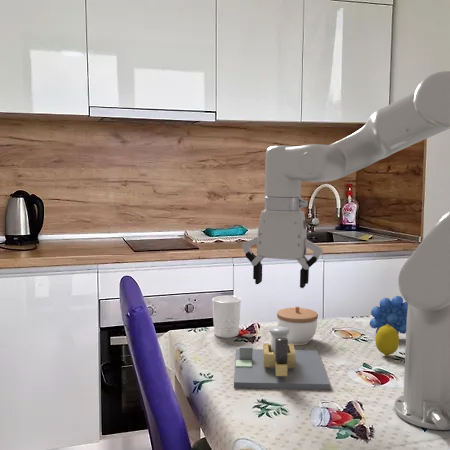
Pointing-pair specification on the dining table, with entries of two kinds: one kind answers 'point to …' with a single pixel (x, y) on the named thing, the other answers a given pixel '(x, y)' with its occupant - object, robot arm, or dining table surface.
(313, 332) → the lidded jar
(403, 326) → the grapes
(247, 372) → the post base
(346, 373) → the dining table surface
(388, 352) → the lemon
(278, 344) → the tan peg holder
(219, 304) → the white cup
